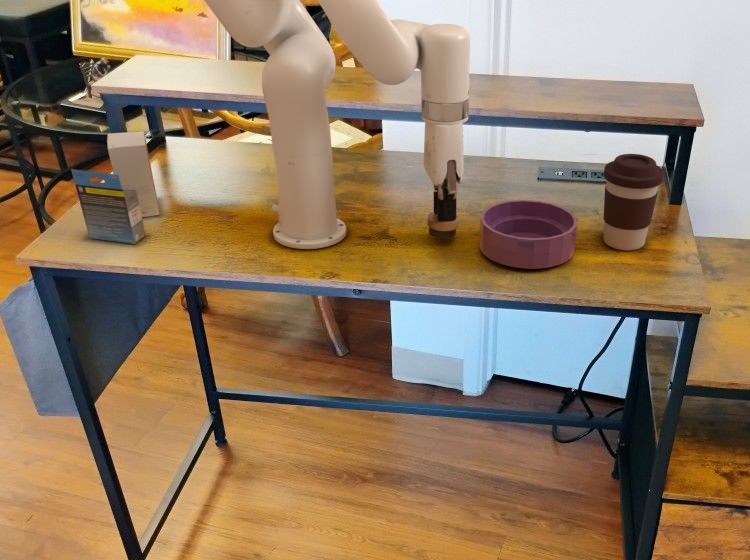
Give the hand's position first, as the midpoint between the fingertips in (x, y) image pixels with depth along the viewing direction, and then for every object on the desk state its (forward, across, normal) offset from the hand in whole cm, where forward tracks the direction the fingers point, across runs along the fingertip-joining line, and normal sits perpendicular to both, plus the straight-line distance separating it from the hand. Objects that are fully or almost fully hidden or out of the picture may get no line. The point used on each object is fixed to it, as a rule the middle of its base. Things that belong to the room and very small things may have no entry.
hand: (444, 215), depth 143 cm
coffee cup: (+5, +7, +31) cm, 32 cm away
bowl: (+5, +7, +13) cm, 15 cm away
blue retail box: (+4, -11, -55) cm, 56 cm away
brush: (+3, 0, 0) cm, 3 cm away
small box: (+4, -23, -52) cm, 57 cm away
